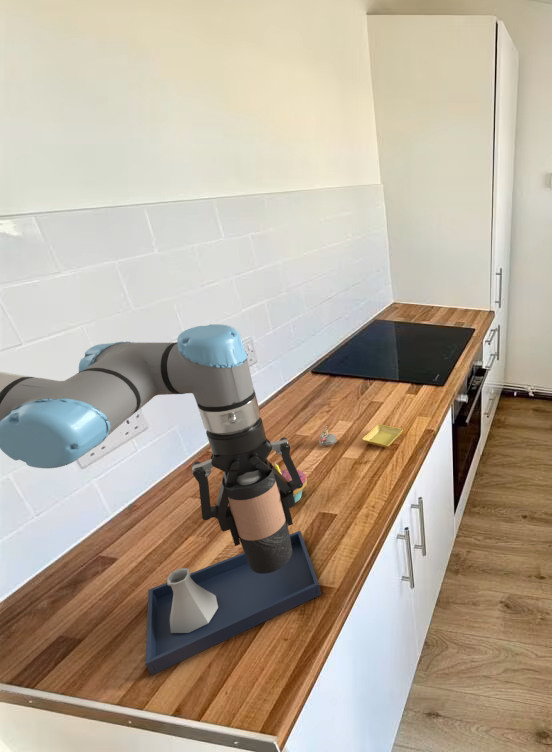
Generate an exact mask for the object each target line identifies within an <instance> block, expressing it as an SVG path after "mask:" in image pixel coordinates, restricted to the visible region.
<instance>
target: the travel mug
mask: <svg viewBox="0 0 552 752" xmlns="http://www.w3.org/2000/svg"><path fill="white" fill-rule="evenodd" d="M269 463H270V464H271V466H272V471H271V473H270V475H269V476H266V475H265V474H263V473H262V472H261V471H260V470H257V471H254V472H247V473H245V474H244V475H241V476H238V477H236V480H235V483H234V485H233V487H231V488H227V487H225V490H226V493H227V496H228V500H229V503H228V507H230V510H231V513H232V517H233V520H234V524H235V527H236V530H237V534H238V536H239V540H240V545H241V547H242V550H243V553H245V555H246V558H247V561H248V563H249V566H250V568H251V569H252V570H253V571H254V572H256V573H259V574H266V573H271V572H274V571H276V570H278V569H280V568H281V567H283V566H284V565H285V564H286V563H287V562H288V561H289V559H290V558H291V555H292V545H291V540H290V530H289V526H288V523H287V519H286V515H285V511H284V507H283V503H282V499H281V495H280V491H279V488H278V487H277V484H276V480H275V476H274V468H275V467H274V464H272V463H271V462H270V461H269ZM273 467H274V468H273ZM221 484H223V486H224V478H223V477H222V479H221Z"/></svg>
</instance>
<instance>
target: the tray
mask: <svg viewBox="0 0 552 752" xmlns="http://www.w3.org/2000/svg"><path fill="white" fill-rule="evenodd" d="M289 535H290V540H291V545H292V555H291V558H290V559H289V561H288V562H287V563H286V564H285V565H284V566H283V567H281V568H280V569H278V570H276V571H274V572H271V573H266V574H259V573H256V572H254V571H253V570H252V569H251V568H250V566H249V563H248V561H247V558H246V555H245V553H244V552H241V553H239V554H237V555H234V556H231V557H229V558H226V559H223V560H221V561H219V562H216V563H214V564H211V565H209V566H206V567H203V568H200V569H198V570H195V571H194V572H190V578H191V579H192V580H193V581H194V582H195V583H196V584H197V585H199V586H200V587H202V588H203V589H205V590H207V591H208V592H210V593H212V594H214V595H215V596H216V600H217V604H218V609H217V610H216V612H215V613H214V615H213V617H212V618H211V620H210V622H209V623H208V624H206V625H204V626H202V627H200V628H198V629H196V630H193V631H191V632H189V633H171V629H170V614H171V608H172V601H173V590H172V587H171V586H168V584H167V582H165V583H162V584H160V585H157V586H155V587H151V588H149V589H148V591H147V593H148V594H147V615H146V616H147V618H146V641H145V643H146V646H145V666H146V668H147V670H148V672H149V673H150V675H151V676H153V675H155V674H158V673H160V672H162V671H164V670H166V669H168V668H171V667H172V666H174V665H176V664H179V663H181V662H183V661H185V660H187V659H189V658H191V657H193V656H196V655H198V654H200V653H202V652H204V651H206V650H209V649H211V648H213V647H214V646H217V645H219V644H221V643H223V642H225V641H228V640H229V639H231V638H234V637H236V636H238V635H240V634H241V633H243V632H246V631H248V630H250V629H253V628H254V627H257V626H259V625H261V624H263V623H265V622H268V621H270V620H272V619H273V618H276V617H277V616H280V615H281V614H284V613H286V612H288V611H290V610H292V609H295V608H297V607H299V606H301V605H302V604H305V603H307V602H309V601H311V600H313V599H315V598H317V597H319V596H321V595H322V594H321V589H320V588H321V587H320V584H319V581H318V578H317V575H316V572H315V569H314V566H313V563H312V561H311V557H310V555H309V552H308V549H307V546H306V543H305V540H304V537H303V534H302V531H301V530H298V531H295V532H293V533H291V534H290V533H289Z"/></svg>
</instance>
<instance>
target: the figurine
mask: <svg viewBox="0 0 552 752" xmlns="http://www.w3.org/2000/svg"><path fill="white" fill-rule="evenodd" d="M328 430H329V427H328V425H327V424H326V425H325V428H324V429H323V430H322V431H321V433H320V435H319V439H318V443H319V445H320V446H321V447H322V448H325V447H331V446H333V445H335V444H336V443H337V441H338V440H337V436H336V435H335V434H334V433H329V431H328Z"/></svg>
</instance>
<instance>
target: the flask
mask: <svg viewBox="0 0 552 752" xmlns="http://www.w3.org/2000/svg"><path fill="white" fill-rule="evenodd" d="M190 573H191V571H190V568H189V567H181V568H177V569H176V570H174V571H171V572H170V574H169V575H168V576H167V577H166V583H167V584H168V586H171V587H172V590H173V601H172V608H171V614H170V629H171V633H189V632H191V631H193V630H196V629H198V628H200V627H202V626H204V625H206V624H208V623H209V622H210V620H211V618H212V617H213V615H214V613H215V612H216V610H217V609H218V604H217V600H216V596H215V595H214V594H212V593H210V592H208V591H207V590H205V589H203V588H202V587H200V586H199V585H197V584H196V583H195V582H194V581H193V580H192V579H191V578H190Z"/></svg>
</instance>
